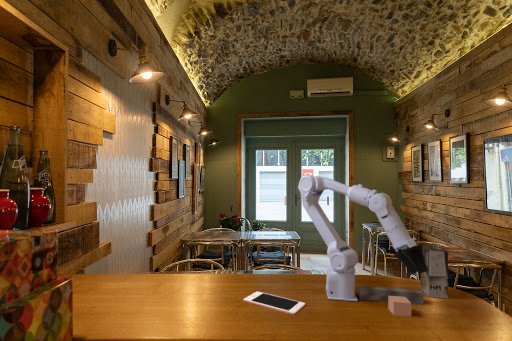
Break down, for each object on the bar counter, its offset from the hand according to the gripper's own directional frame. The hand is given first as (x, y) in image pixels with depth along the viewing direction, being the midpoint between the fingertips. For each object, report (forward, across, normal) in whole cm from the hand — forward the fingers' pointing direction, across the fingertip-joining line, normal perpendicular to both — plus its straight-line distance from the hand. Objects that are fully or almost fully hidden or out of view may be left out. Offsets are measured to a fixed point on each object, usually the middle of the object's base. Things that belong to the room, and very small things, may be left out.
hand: (419, 272), depth 88 cm
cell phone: (-7, +4, +44) cm, 45 cm away
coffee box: (+11, +27, -8) cm, 30 cm away
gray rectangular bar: (+6, +16, +8) cm, 19 cm away
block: (+9, +7, +9) cm, 14 cm away
